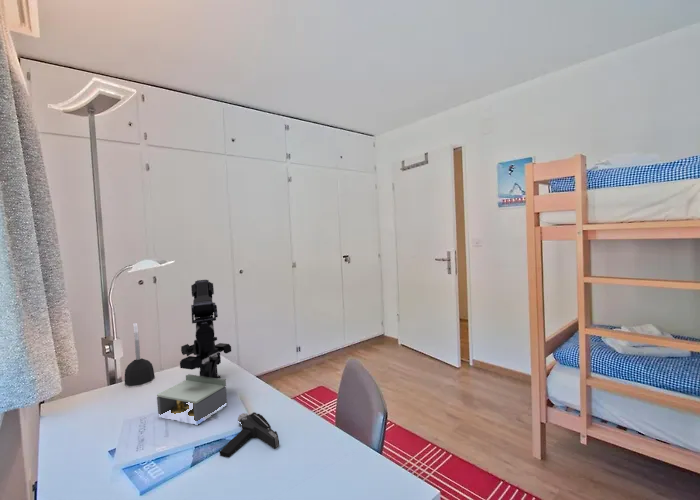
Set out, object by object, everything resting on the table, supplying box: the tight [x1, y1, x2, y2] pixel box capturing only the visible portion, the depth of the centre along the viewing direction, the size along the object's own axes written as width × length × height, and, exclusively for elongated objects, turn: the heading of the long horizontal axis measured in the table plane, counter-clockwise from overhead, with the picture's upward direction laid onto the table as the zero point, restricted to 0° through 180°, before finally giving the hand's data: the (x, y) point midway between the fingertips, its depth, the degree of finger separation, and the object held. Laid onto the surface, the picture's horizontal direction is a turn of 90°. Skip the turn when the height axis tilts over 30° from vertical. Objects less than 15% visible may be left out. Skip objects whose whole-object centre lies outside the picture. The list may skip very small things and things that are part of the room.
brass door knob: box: [171, 400, 189, 414], centre depth 118 cm, size 6×6×6 cm
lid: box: [156, 374, 227, 403], centre depth 118 cm, size 13×17×2 cm
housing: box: [156, 386, 228, 421], centre depth 118 cm, size 13×17×7 cm
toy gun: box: [218, 412, 280, 458], centre depth 101 cm, size 5×21×15 cm
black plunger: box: [124, 322, 156, 389], centre depth 147 cm, size 11×11×25 cm
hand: (208, 379), depth 125 cm, fingers closed
